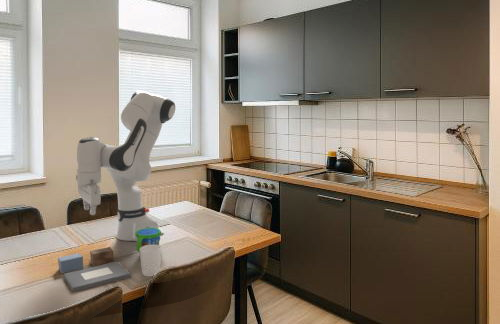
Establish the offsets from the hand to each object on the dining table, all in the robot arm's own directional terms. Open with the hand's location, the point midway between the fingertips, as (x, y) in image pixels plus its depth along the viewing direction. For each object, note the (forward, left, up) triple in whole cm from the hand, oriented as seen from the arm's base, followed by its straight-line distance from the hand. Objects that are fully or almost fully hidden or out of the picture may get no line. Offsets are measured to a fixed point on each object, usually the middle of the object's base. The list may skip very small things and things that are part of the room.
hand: (89, 211), depth 160 cm
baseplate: (+3, +17, -21) cm, 27 cm away
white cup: (-15, +25, -21) cm, 36 cm away
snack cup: (-22, +6, -21) cm, 31 cm away
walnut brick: (-3, +3, -21) cm, 22 cm away
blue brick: (+9, +3, -21) cm, 23 cm away
